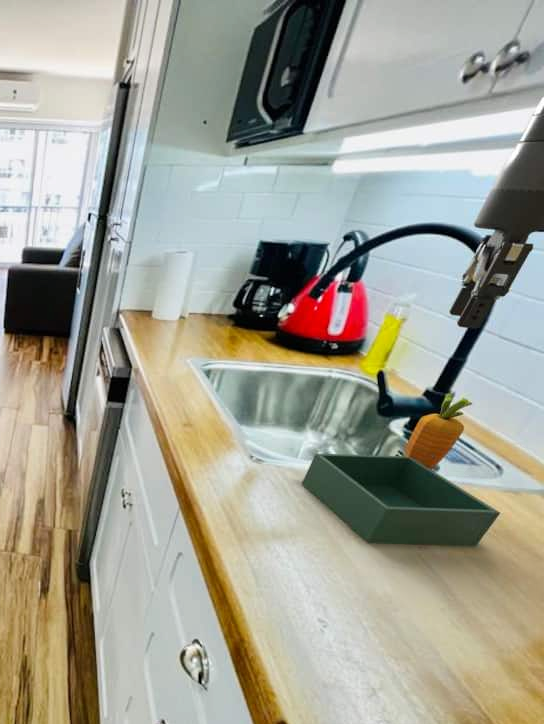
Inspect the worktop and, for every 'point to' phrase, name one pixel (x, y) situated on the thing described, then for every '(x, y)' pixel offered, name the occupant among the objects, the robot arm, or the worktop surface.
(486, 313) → the robot arm
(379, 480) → the dark green tray
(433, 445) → the carrot
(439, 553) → the worktop surface
